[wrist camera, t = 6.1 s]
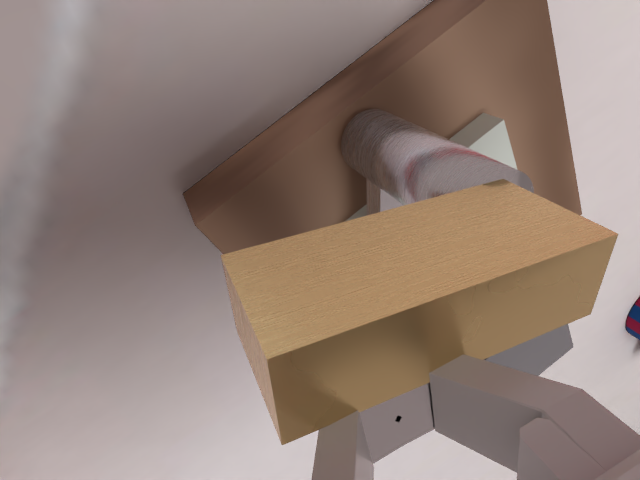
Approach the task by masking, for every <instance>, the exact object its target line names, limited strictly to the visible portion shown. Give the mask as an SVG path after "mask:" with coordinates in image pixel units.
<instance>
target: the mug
mask: <svg viewBox="0 0 640 480" xmlns="http://www.w3.org/2000/svg"><path fill="white" fill-rule="evenodd" d="M626 329H627V331H628V333H630V334H631V335H633V336H634V337H636V338H637V339H639V340H640V297H639V299H638V300H637V301H636V303H635V304H634V306H633V307H632V309H631V311H630V313H629V315H628V318H627V321H626Z"/></svg>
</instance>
